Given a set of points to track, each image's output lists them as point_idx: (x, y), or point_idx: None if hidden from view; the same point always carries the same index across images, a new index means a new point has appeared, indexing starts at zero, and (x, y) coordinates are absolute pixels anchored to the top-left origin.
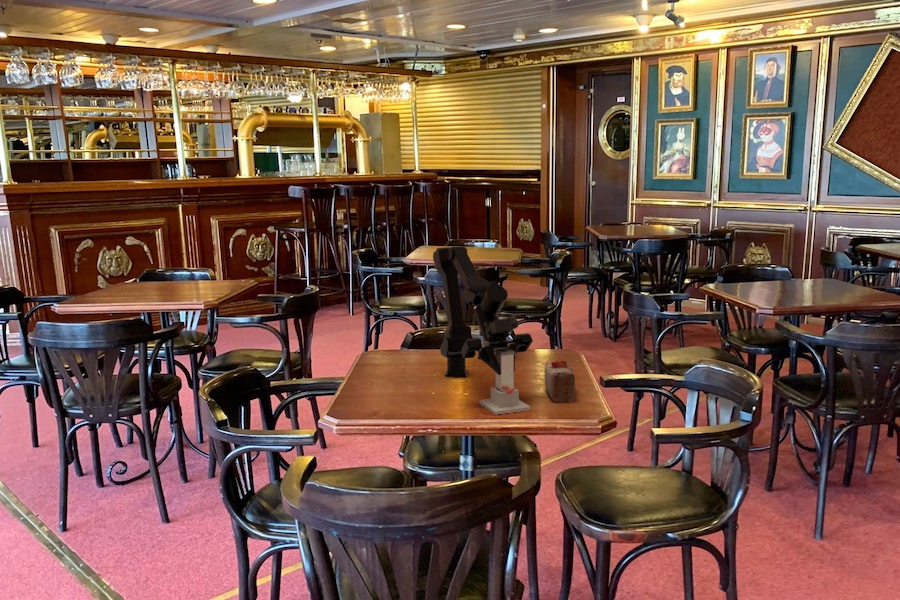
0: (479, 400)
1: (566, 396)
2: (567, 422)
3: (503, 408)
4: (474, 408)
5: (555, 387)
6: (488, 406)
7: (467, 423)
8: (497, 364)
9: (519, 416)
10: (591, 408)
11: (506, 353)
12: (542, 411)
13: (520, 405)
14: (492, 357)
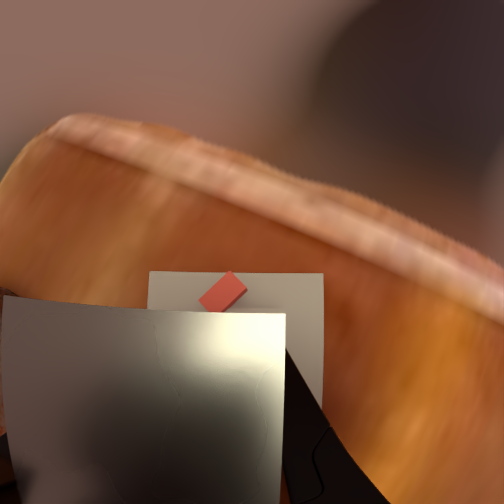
0: None
1: (2, 291)
2: (124, 124)
3: (269, 298)
4: (361, 394)
5: (1, 307)
6: (321, 351)
7: (439, 237)
8: (284, 395)
9: (231, 227)
10: (4, 211)
11: (150, 314)
12: (122, 244)
13: (178, 303)
14: (341, 469)
